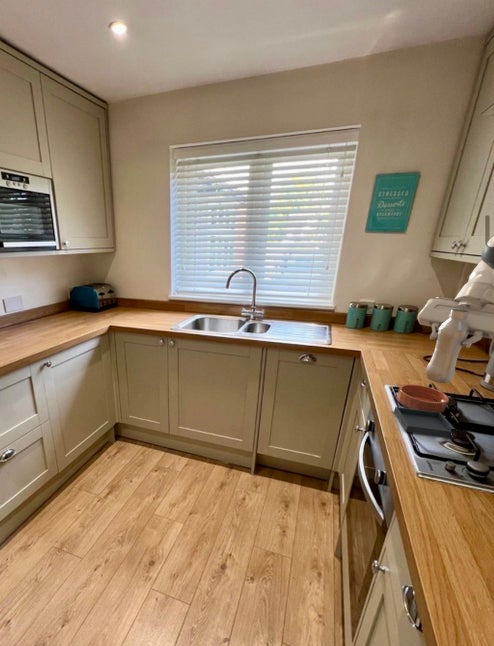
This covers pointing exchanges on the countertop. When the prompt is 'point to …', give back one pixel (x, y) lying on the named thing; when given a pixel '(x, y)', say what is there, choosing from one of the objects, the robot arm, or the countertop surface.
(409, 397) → the bowl
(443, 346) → the plastic bottle
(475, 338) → the robot arm
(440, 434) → the tray
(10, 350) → the countertop surface
